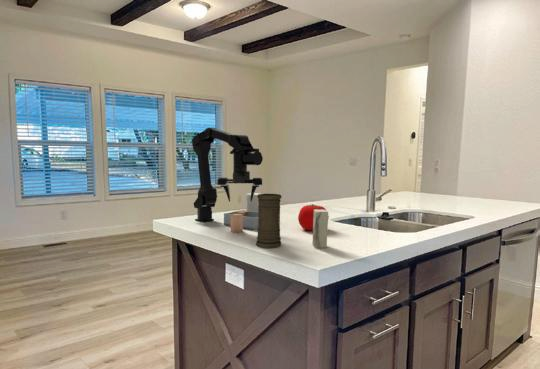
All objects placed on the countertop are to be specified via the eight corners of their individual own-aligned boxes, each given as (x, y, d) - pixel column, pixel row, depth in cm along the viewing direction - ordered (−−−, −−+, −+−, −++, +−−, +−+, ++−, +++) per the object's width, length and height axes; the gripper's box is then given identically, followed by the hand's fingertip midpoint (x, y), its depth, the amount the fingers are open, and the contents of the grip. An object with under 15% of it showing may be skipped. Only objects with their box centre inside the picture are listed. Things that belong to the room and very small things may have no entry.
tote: (223, 224, 169) (223, 213, 168) (243, 220, 179) (243, 209, 179) (254, 230, 159) (254, 218, 158) (272, 225, 169) (272, 214, 169)
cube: (242, 224, 168) (242, 212, 167) (233, 222, 171) (233, 211, 170) (249, 222, 172) (249, 211, 171) (240, 220, 175) (240, 210, 174)
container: (263, 249, 128) (263, 196, 127) (251, 243, 136) (252, 193, 135) (285, 246, 133) (287, 195, 131) (273, 240, 141) (274, 192, 139)
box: (312, 244, 136) (313, 209, 135) (324, 244, 137) (325, 209, 135) (315, 248, 131) (316, 211, 130) (327, 248, 131) (328, 211, 130)
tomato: (292, 229, 161) (292, 204, 160) (310, 225, 170) (311, 201, 169) (314, 234, 153) (315, 207, 152) (333, 229, 162) (333, 204, 161)
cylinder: (227, 231, 155) (228, 214, 154) (236, 229, 159) (236, 213, 158) (237, 233, 152) (237, 216, 151) (245, 231, 156) (245, 214, 155)
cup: (260, 220, 181) (261, 195, 180) (244, 219, 182) (244, 194, 181) (264, 217, 189) (264, 193, 187) (248, 216, 190) (248, 192, 189)
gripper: (215, 165, 152) (215, 203, 153) (262, 165, 152) (262, 204, 154) (219, 164, 163) (219, 200, 164) (262, 164, 163) (262, 200, 165)
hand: (240, 201), depth 161 cm, fingers open, 9 cm apart
